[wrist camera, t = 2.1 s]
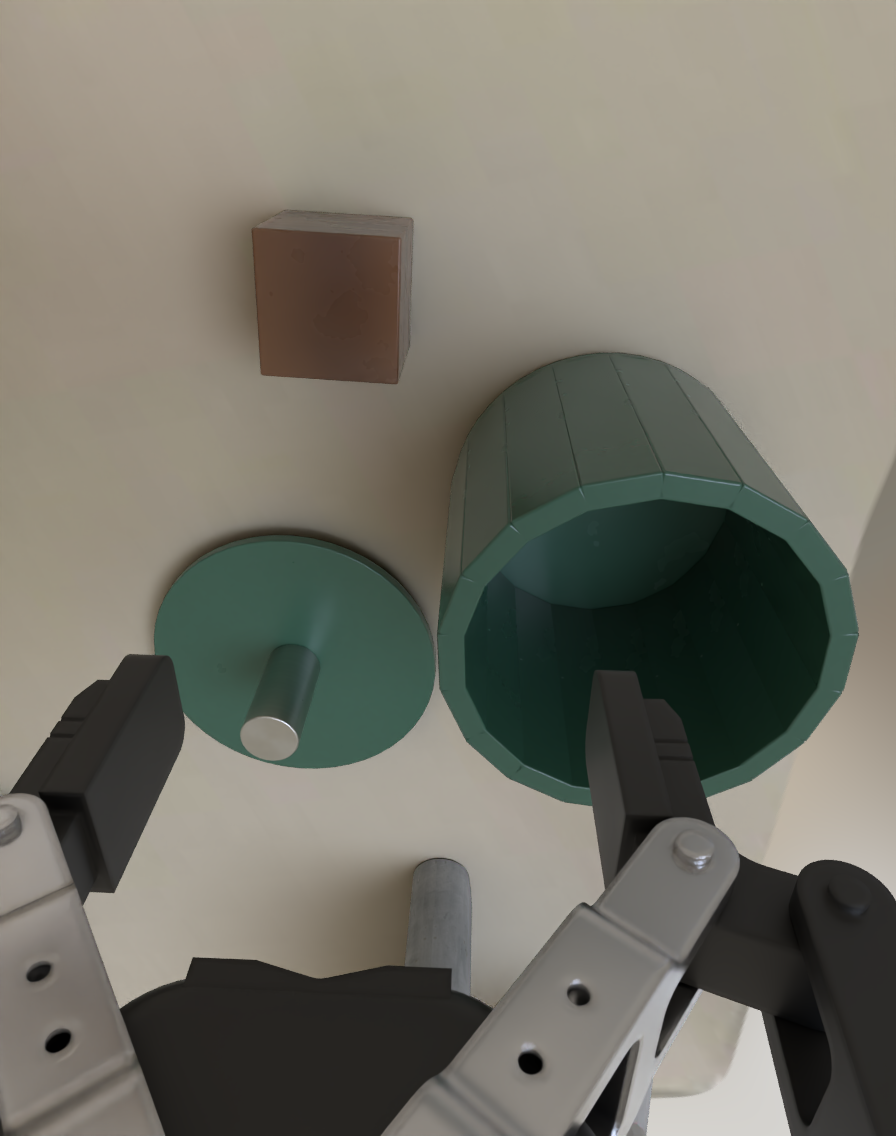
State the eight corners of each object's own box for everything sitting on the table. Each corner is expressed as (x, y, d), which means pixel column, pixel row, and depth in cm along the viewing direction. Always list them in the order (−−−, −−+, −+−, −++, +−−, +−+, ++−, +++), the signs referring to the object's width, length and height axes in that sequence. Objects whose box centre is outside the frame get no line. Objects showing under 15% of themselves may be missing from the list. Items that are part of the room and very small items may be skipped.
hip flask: (415, 855, 45) (371, 1325, 28) (487, 863, 45) (488, 1337, 28) (395, 1019, 53) (351, 1462, 36) (457, 1025, 53) (442, 1471, 36)
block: (289, 340, 31) (260, 376, 27) (284, 209, 29) (250, 227, 25) (409, 348, 31) (397, 385, 27) (413, 218, 29) (401, 237, 25)
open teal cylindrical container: (416, 572, 36) (389, 755, 26) (512, 306, 30) (524, 410, 20) (664, 648, 37) (728, 847, 27) (803, 408, 31) (948, 552, 21)
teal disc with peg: (146, 712, 41) (93, 805, 35) (185, 490, 34) (128, 562, 29) (392, 779, 42) (379, 878, 37) (474, 578, 36) (471, 662, 31)
